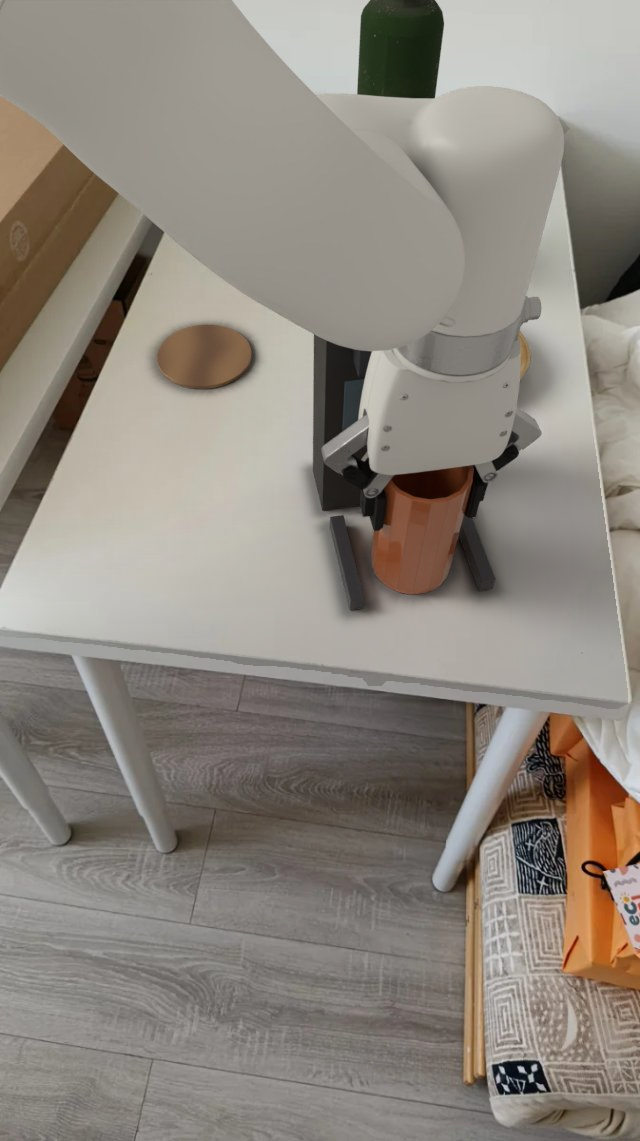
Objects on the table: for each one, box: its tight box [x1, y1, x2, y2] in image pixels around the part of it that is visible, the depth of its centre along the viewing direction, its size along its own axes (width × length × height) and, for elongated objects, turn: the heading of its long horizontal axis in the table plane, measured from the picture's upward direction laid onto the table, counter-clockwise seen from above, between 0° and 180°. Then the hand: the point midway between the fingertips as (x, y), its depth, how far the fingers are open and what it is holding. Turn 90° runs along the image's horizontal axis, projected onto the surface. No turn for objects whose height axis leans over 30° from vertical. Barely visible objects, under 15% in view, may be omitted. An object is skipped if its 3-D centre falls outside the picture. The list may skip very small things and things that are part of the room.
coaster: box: [156, 324, 253, 390], centre depth 82 cm, size 10×10×1 cm
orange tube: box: [370, 465, 474, 595], centre depth 63 cm, size 7×7×12 cm
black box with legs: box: [312, 334, 497, 611], centre depth 61 cm, size 13×16×20 cm
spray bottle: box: [356, 0, 445, 99], centre depth 98 cm, size 10×10×25 cm
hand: (419, 509), depth 62 cm, fingers closed on orange tube, 6 cm apart
